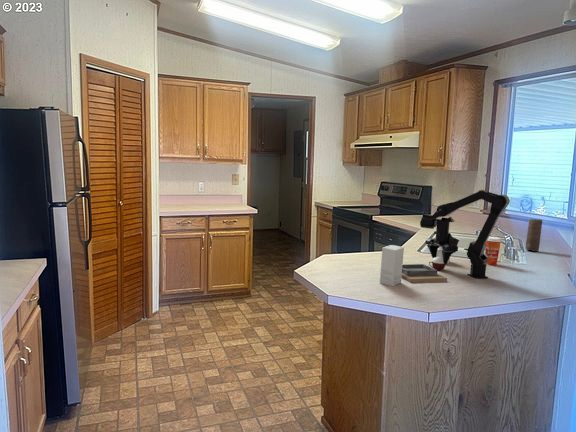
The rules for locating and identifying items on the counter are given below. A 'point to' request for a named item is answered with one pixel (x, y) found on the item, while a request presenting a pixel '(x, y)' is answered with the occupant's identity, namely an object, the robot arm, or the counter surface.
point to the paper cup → (492, 250)
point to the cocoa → (437, 263)
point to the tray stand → (421, 273)
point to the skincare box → (391, 265)
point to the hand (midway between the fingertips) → (439, 262)
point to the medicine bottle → (440, 253)
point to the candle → (533, 234)
